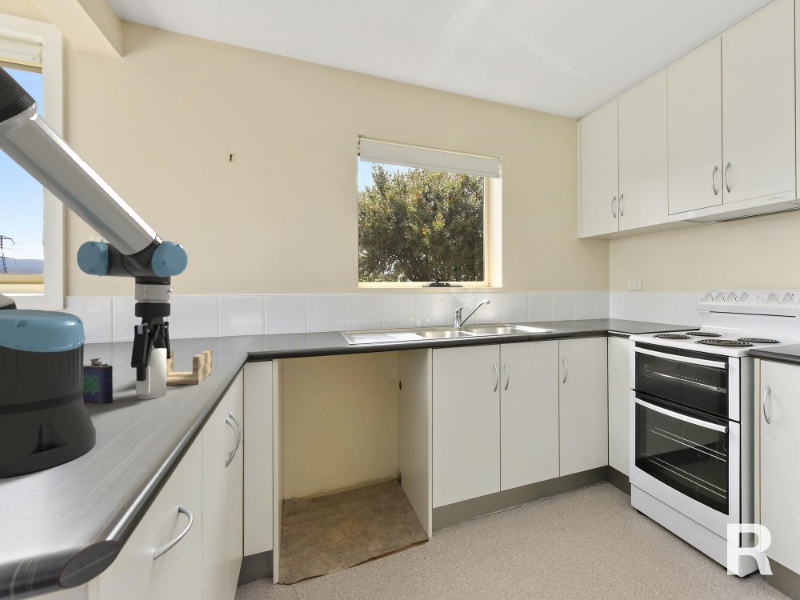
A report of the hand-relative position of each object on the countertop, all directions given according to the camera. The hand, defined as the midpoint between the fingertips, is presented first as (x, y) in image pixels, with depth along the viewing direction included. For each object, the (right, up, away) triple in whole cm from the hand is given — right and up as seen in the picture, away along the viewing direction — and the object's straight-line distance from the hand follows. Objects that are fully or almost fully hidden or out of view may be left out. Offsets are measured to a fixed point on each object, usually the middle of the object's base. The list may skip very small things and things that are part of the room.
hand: (152, 388), depth 90 cm
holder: (-3, -2, +18) cm, 18 cm away
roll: (0, -2, 0) cm, 2 cm away
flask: (-10, -2, -6) cm, 12 cm away
